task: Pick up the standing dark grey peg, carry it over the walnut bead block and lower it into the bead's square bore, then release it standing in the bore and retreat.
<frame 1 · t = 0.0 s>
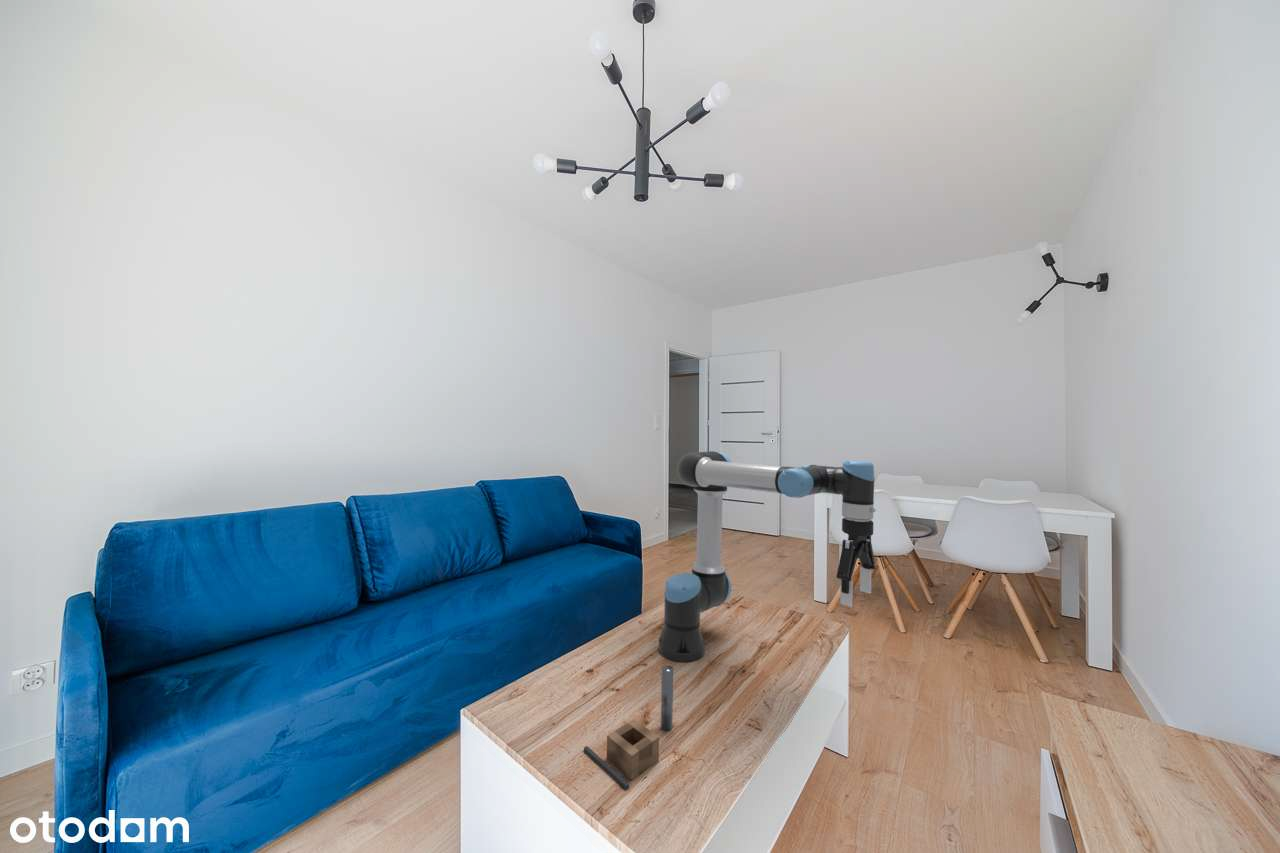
hand: (856, 598, 115), 28 cm above the table, fingers open, 13 cm apart
dark grey peg: (666, 727, 104), on the table
bead block: (632, 759, 94), on the table
dark grey rod: (605, 768, 91), on the table
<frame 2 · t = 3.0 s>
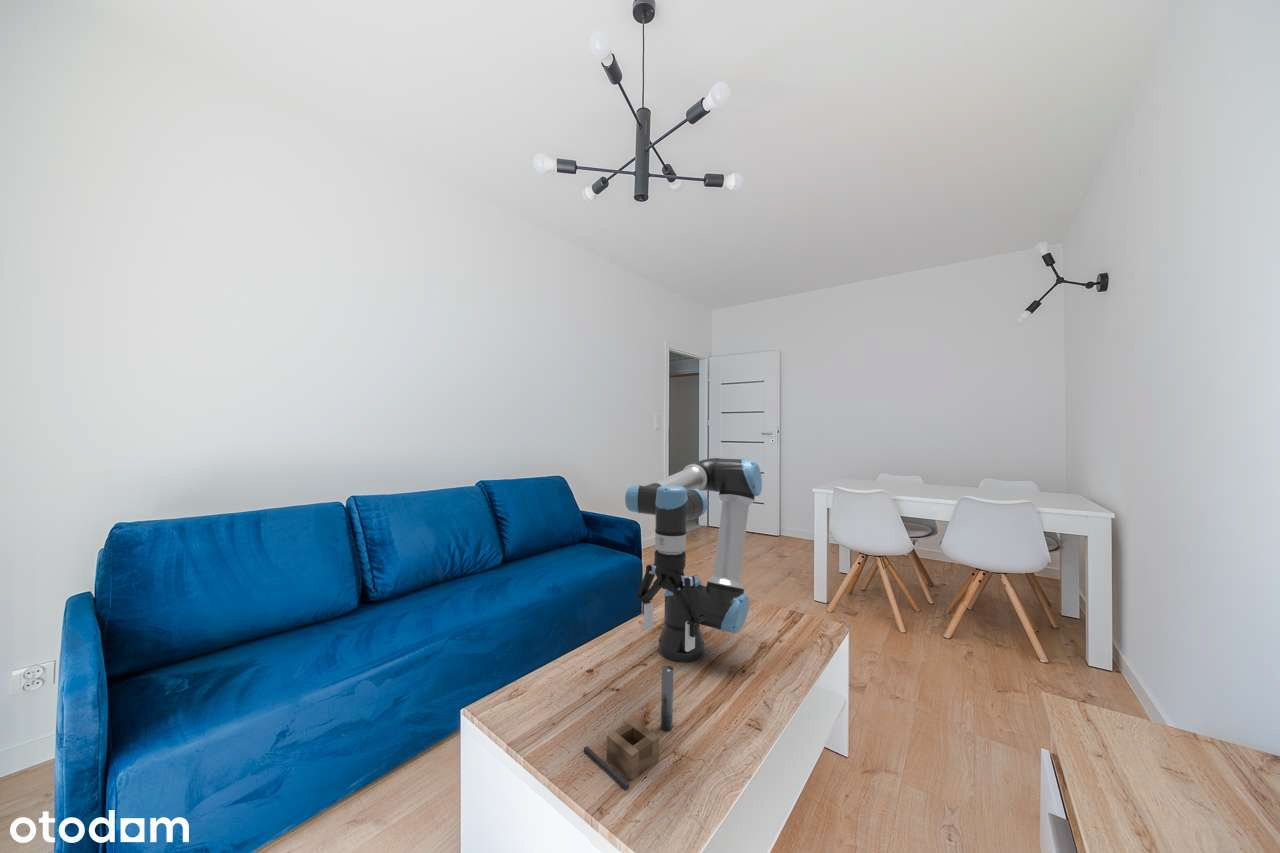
hand: (668, 638, 104), 21 cm above the table, fingers open, 13 cm apart
nothing on the table moved.
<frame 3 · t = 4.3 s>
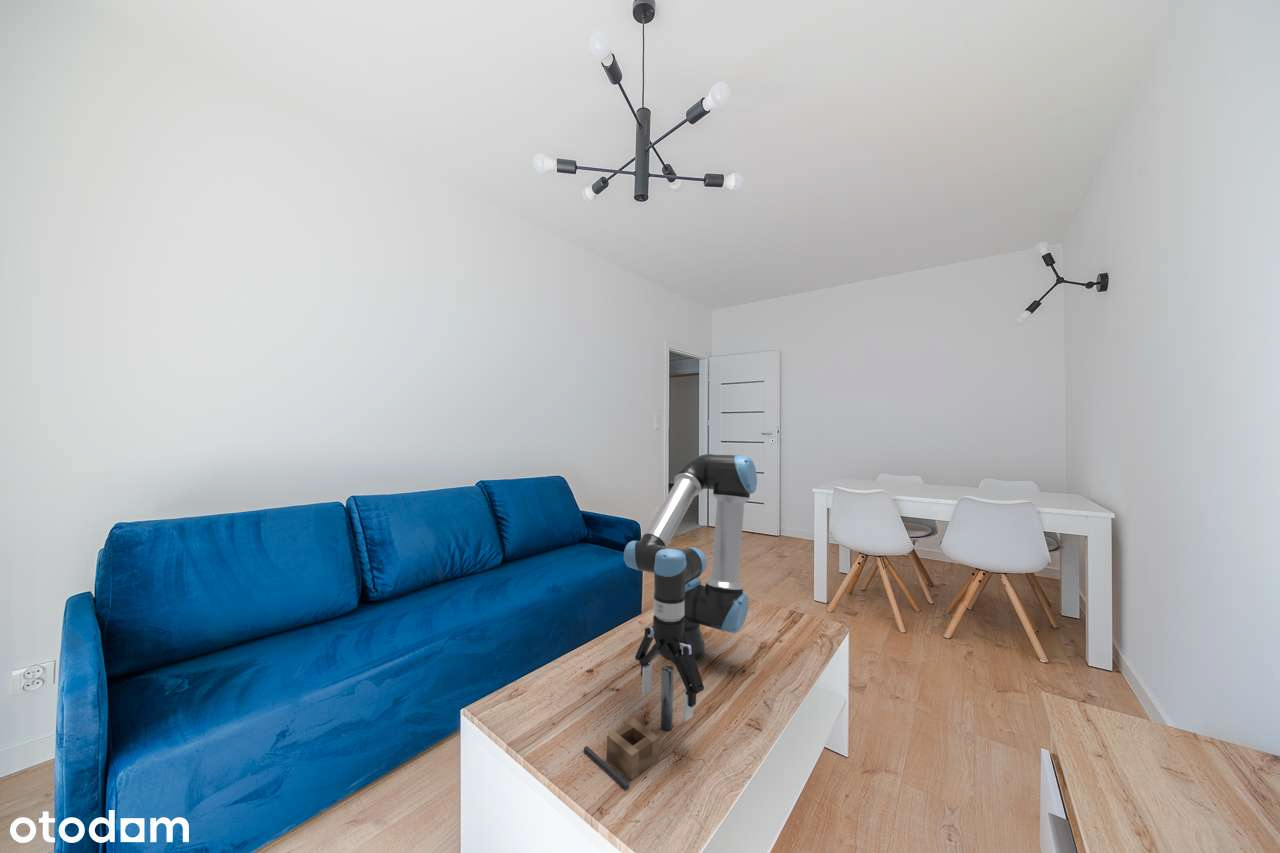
hand: (666, 704, 104), 6 cm above the table, fingers open, 13 cm apart
nothing on the table moved.
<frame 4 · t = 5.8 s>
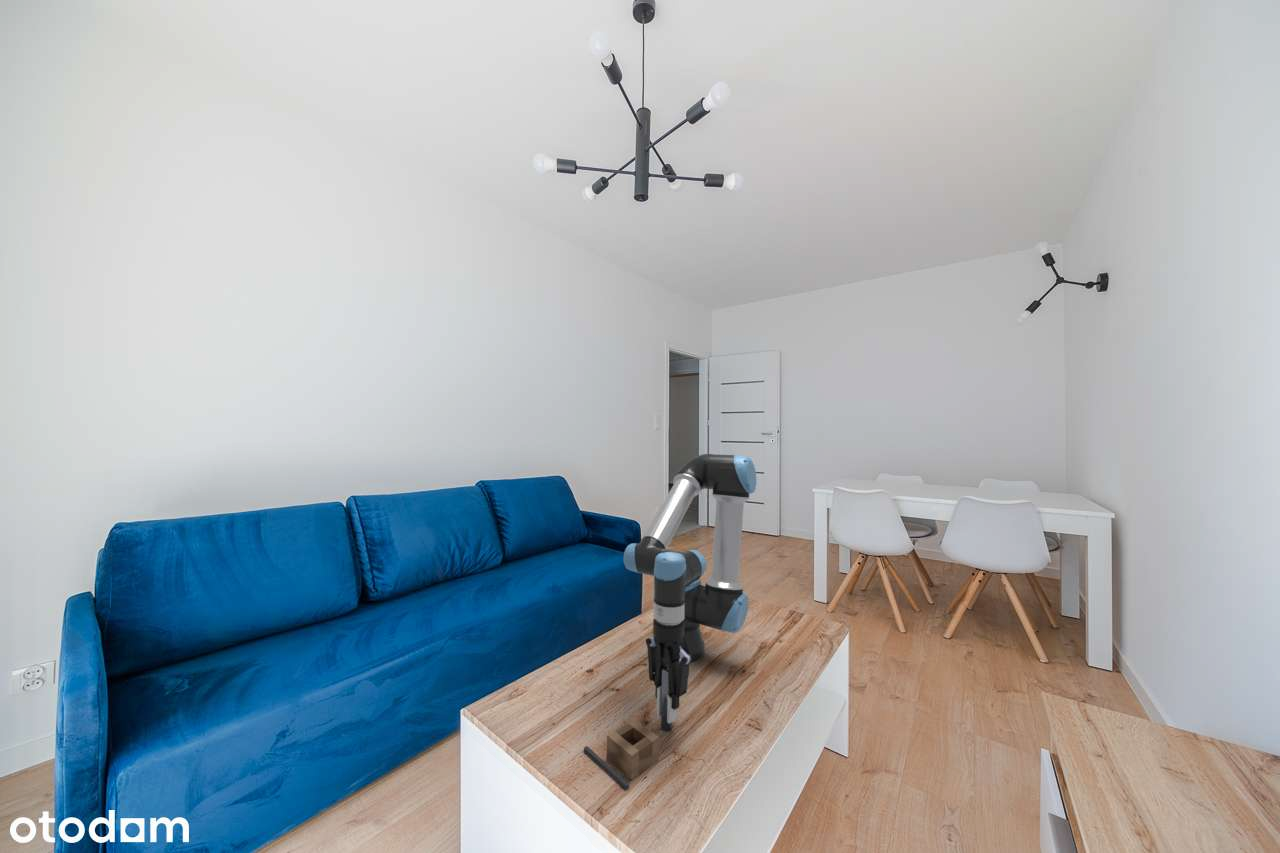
hand: (666, 716, 104), 3 cm above the table, fingers closed on dark grey peg, 3 cm apart
dark grey peg: (666, 727, 104), on the table, touching gripper
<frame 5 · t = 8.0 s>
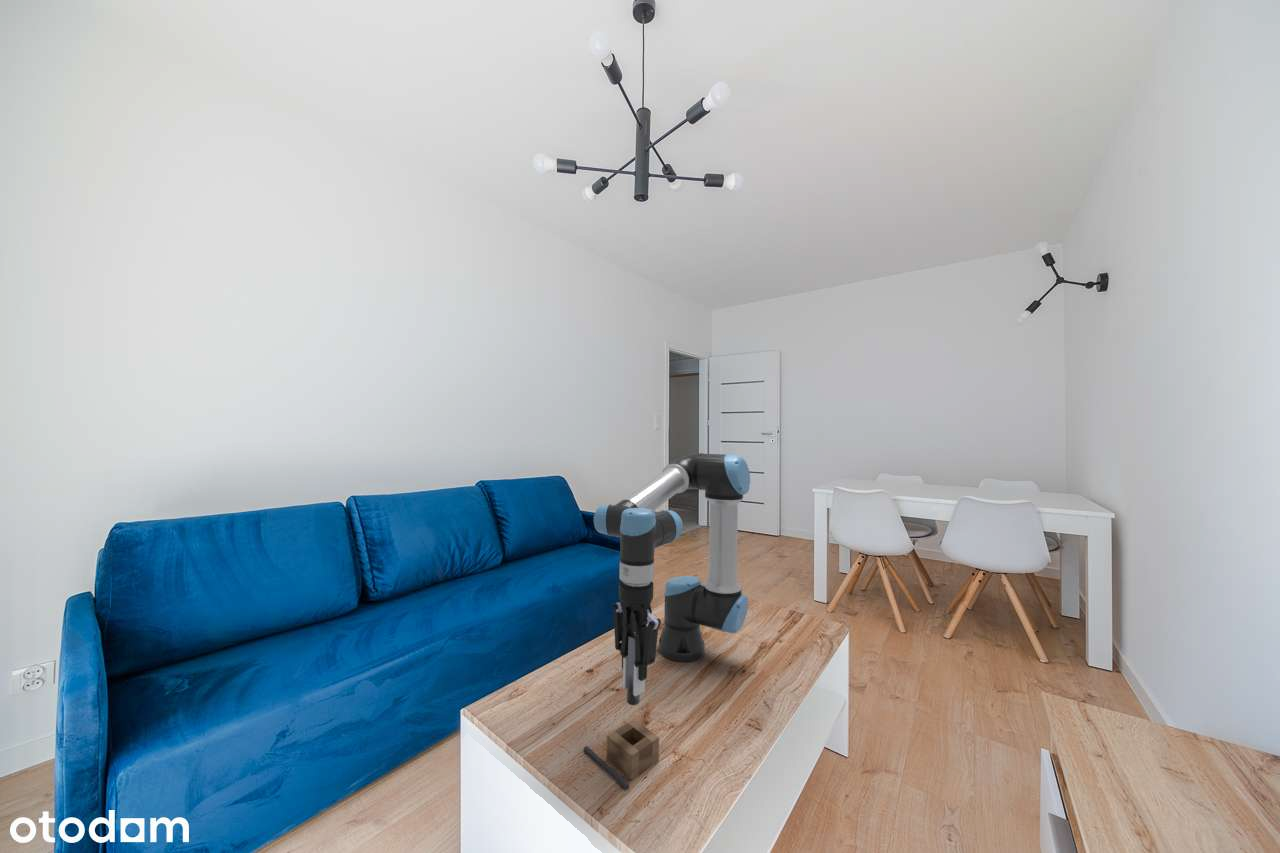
hand: (633, 689, 94), 15 cm above the table, fingers closed on dark grey peg, 3 cm apart
dark grey peg: (633, 701, 94), point 13 cm above the table, touching gripper
when the fingers open (6 cm above the table, at t = 10.2 s): dark grey peg drops 3 cm, resting in bead block.
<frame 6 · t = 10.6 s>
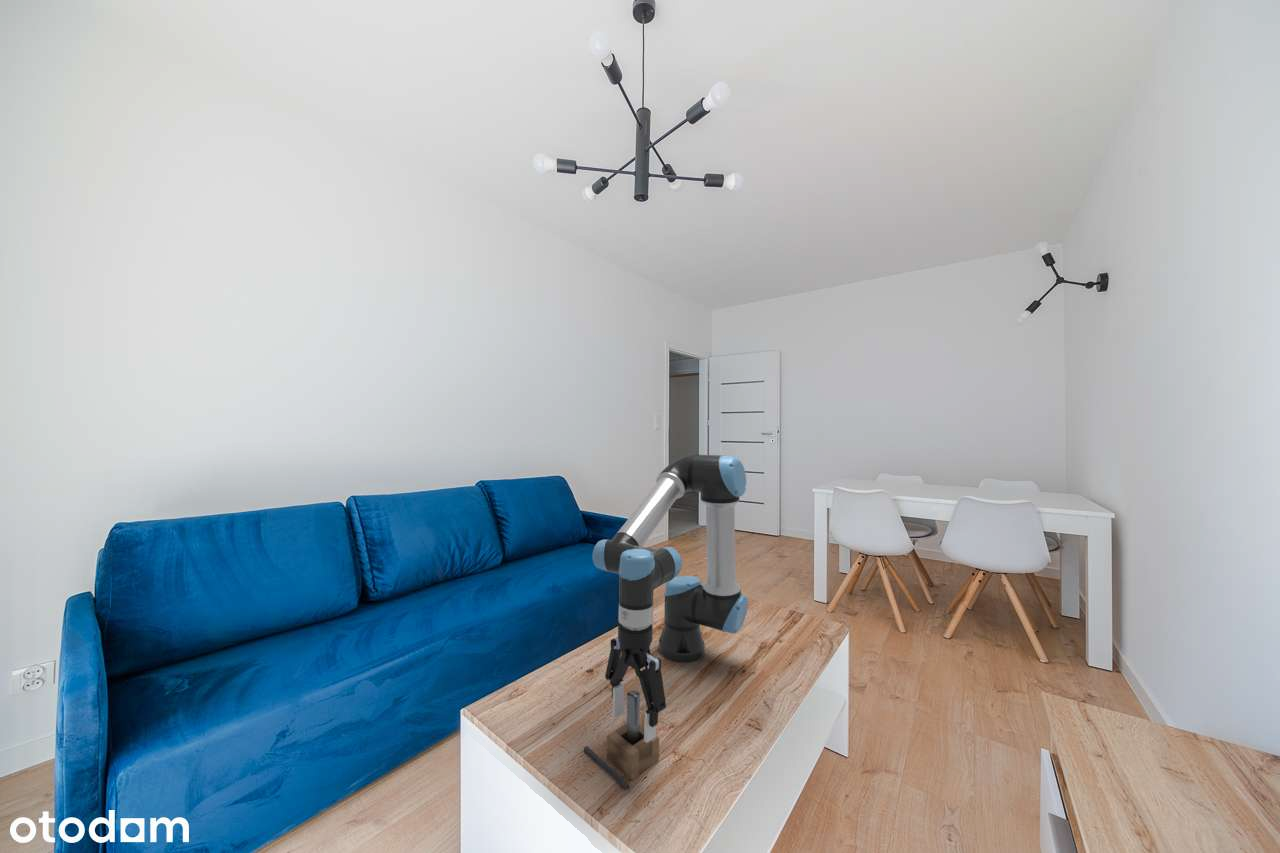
hand: (633, 726, 94), 7 cm above the table, fingers open, 9 cm apart
dark grey peg: (632, 759, 94), resting in bead block
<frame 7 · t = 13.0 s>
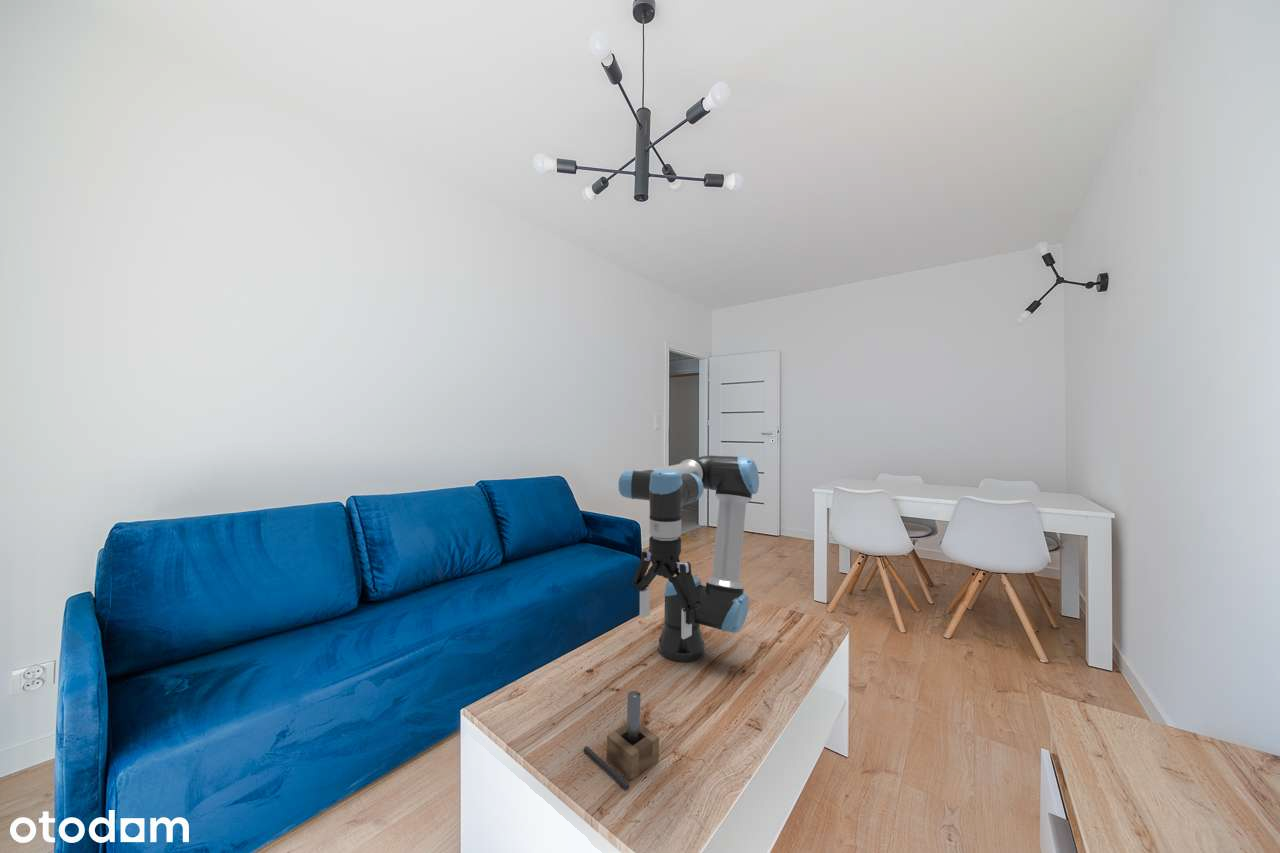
hand: (664, 626, 102), 25 cm above the table, fingers open, 13 cm apart
nothing on the table moved.
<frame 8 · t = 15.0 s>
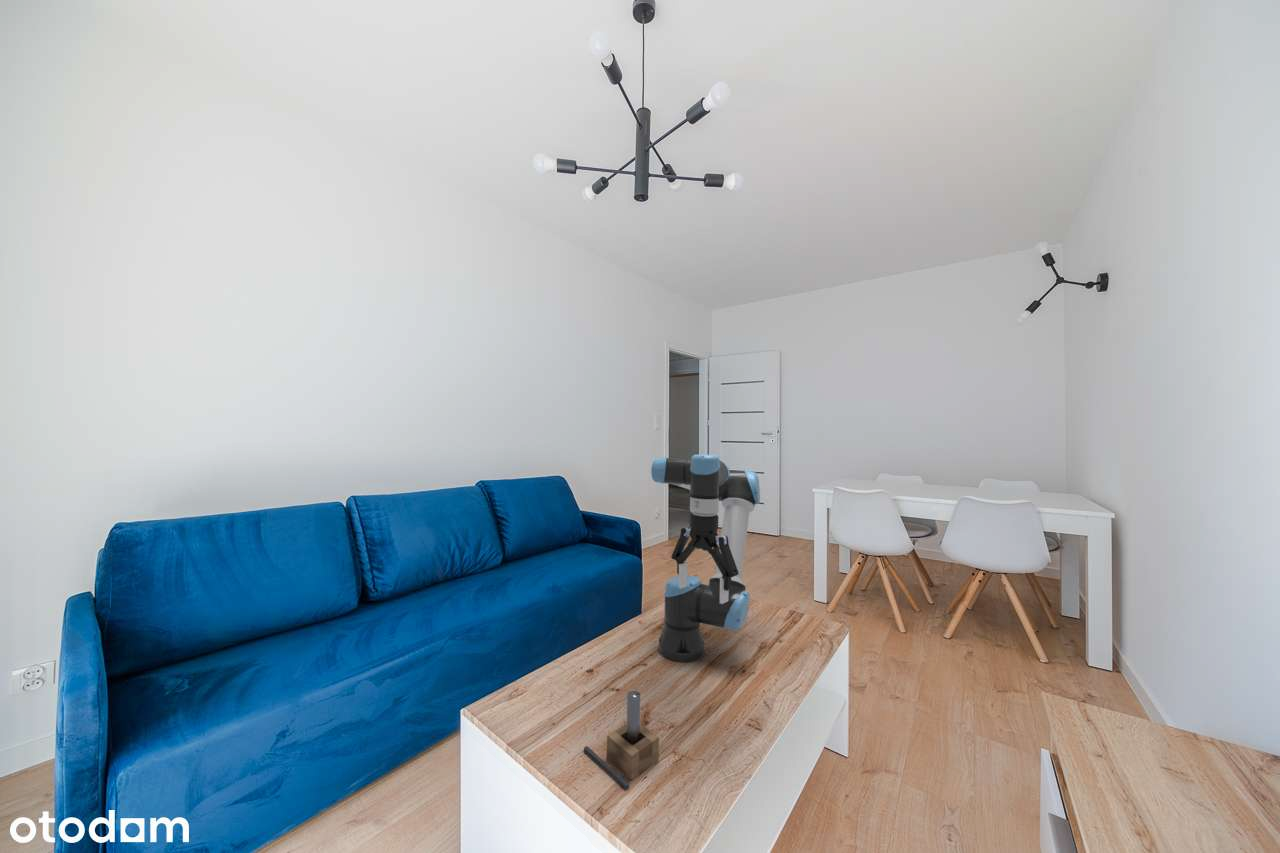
hand: (702, 594, 113), 29 cm above the table, fingers open, 13 cm apart
nothing on the table moved.
at the end: dark grey peg 0.0 cm off-centre on the bead block, point 0.0 cm above the bead block's base; dark grey peg tilted 0°; the gripper is holding nothing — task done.
